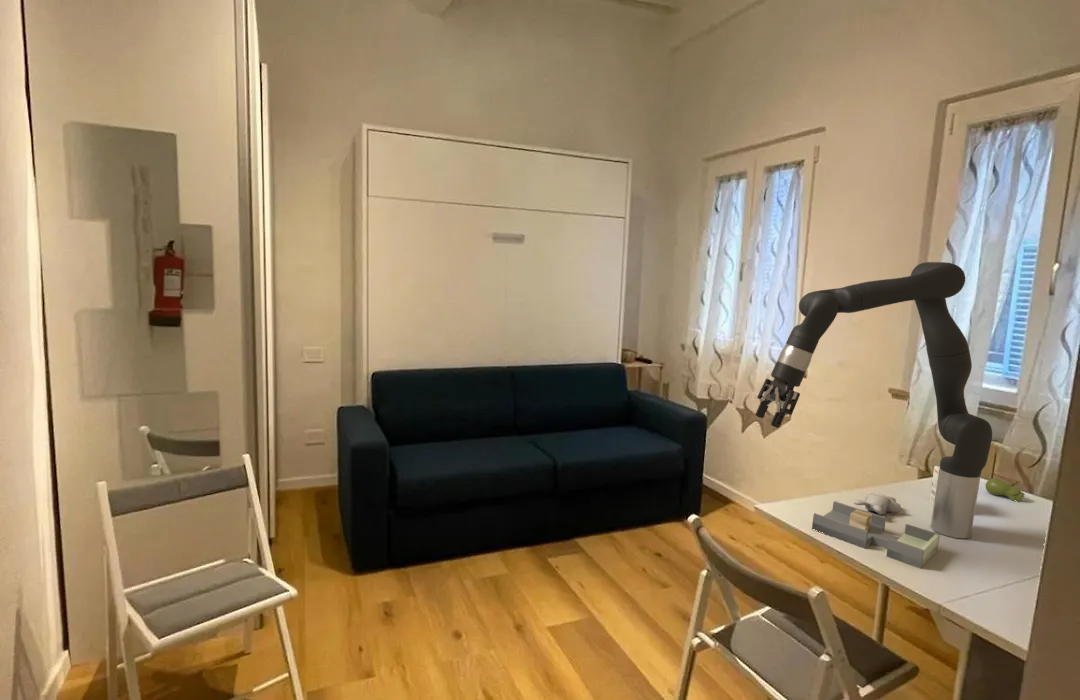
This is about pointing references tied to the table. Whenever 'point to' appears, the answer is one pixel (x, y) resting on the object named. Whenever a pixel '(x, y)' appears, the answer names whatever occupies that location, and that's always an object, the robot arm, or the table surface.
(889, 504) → the bunny figurine
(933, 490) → the ink box
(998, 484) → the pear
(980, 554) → the table surface
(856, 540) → the trap box
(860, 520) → the birch block
